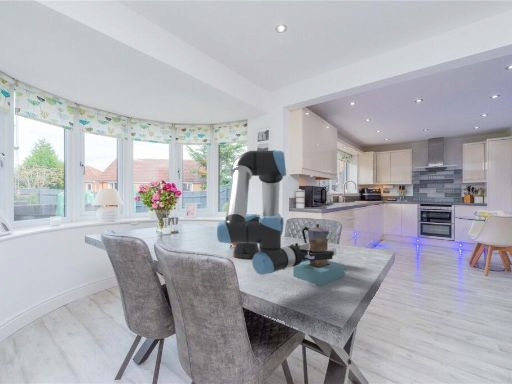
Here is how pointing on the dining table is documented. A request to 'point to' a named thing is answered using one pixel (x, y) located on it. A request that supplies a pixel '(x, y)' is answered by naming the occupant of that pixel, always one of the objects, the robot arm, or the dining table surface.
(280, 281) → the dining table surface
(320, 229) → the moka pot
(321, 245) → the walnut board
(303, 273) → the slotted base
